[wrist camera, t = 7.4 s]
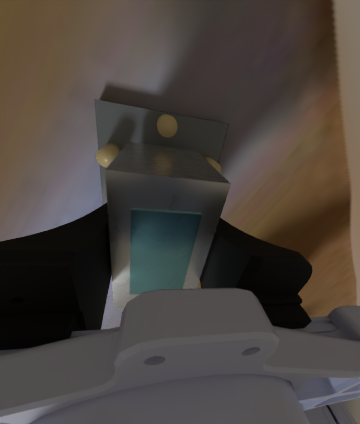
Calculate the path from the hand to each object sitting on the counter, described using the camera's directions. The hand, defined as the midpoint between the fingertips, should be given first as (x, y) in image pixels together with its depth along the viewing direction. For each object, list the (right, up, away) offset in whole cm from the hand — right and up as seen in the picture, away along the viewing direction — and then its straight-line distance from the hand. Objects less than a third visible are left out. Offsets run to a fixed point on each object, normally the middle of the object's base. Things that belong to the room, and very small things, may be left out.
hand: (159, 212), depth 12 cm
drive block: (0, +1, +1) cm, 2 cm away
